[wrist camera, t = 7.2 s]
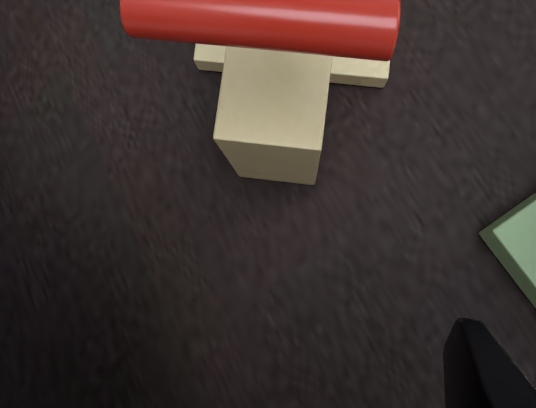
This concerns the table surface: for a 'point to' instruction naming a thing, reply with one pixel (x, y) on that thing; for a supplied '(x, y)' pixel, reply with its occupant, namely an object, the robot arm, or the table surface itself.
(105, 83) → the table surface
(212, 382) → the table surface
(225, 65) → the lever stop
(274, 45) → the red handled lever
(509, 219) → the control block
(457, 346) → the robot arm
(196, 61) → the lever stand
